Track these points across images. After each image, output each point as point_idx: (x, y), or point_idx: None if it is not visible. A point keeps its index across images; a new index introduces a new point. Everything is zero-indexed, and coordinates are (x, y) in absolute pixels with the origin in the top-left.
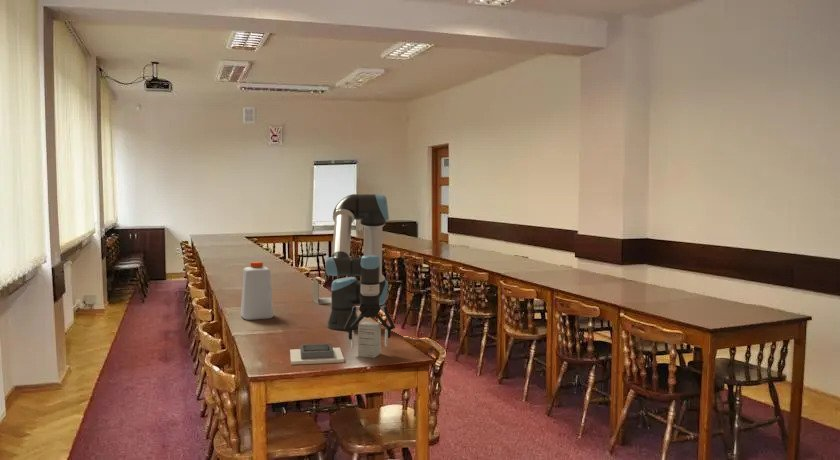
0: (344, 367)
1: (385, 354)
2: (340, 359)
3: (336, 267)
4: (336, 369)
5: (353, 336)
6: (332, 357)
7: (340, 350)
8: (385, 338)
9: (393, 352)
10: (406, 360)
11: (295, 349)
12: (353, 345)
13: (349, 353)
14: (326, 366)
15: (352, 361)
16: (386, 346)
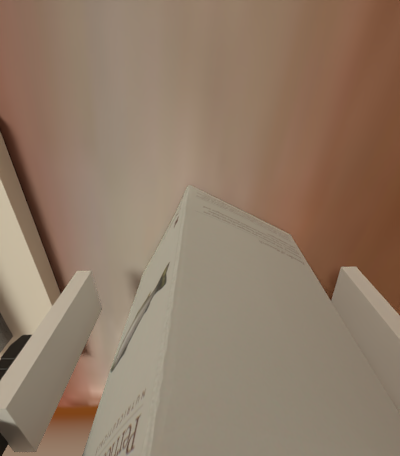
0: (91, 393)
1: (311, 254)
2: None
3: None
4: (65, 405)
5: (57, 397)
6: (6, 337)
7: (8, 205)
8: (368, 341)
9: (381, 218)
10: None
11: None
12: (92, 324)
13: (85, 203)
14: None
15: (118, 339)
16: (335, 308)
